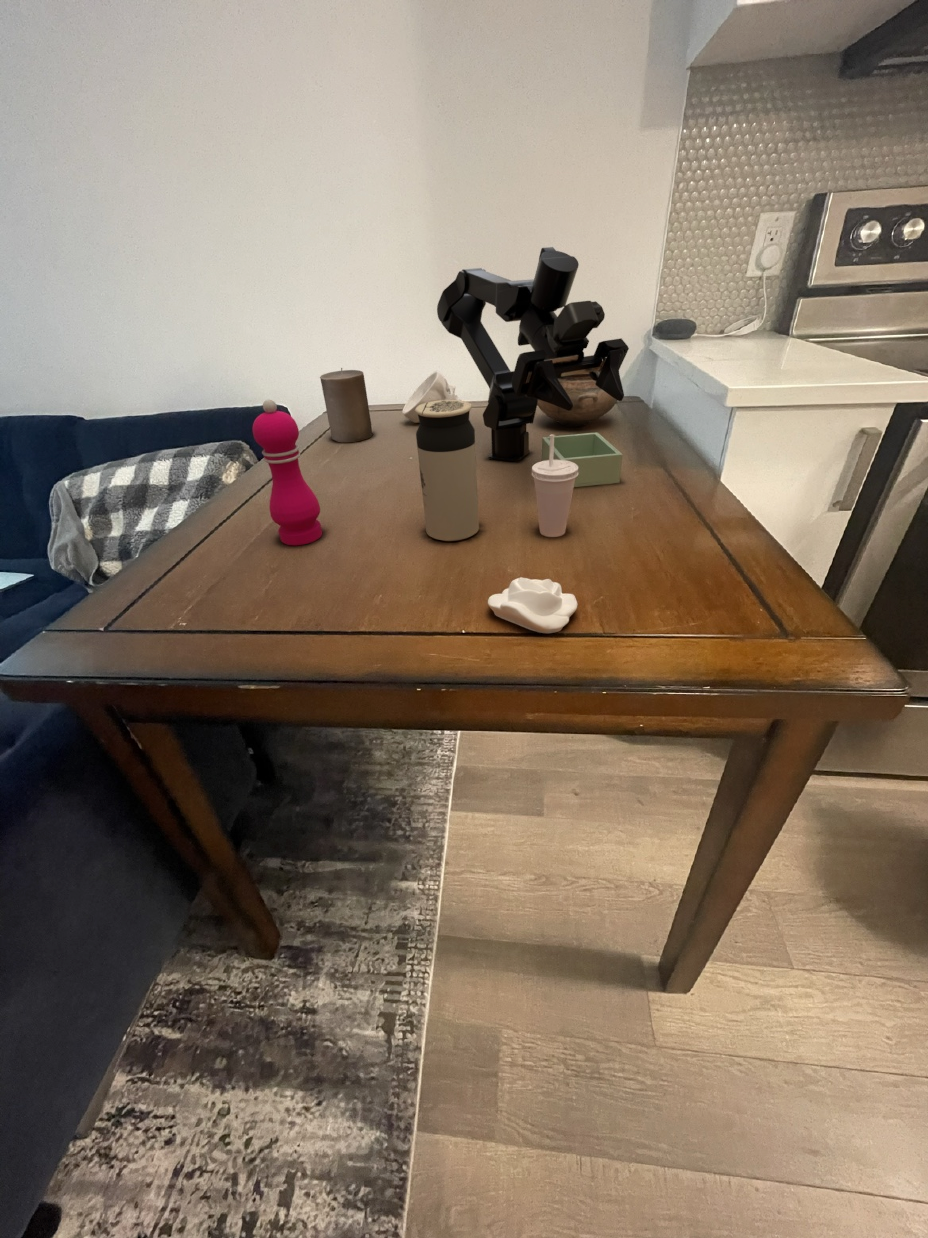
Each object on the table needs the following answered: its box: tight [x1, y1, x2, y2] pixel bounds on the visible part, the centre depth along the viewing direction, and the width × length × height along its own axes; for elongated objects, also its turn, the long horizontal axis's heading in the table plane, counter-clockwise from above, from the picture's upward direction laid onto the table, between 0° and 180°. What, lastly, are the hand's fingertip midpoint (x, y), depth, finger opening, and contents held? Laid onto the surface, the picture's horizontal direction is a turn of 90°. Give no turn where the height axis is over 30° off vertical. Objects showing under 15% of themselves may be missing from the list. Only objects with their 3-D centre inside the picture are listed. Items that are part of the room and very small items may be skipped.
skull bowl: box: [401, 370, 463, 424], centre depth 134 cm, size 10×14×12 cm
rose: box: [487, 576, 578, 634], centre depth 61 cm, size 10×4×10 cm
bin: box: [541, 431, 623, 488], centre depth 98 cm, size 14×11×5 cm
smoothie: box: [531, 433, 579, 538], centre depth 76 cm, size 6×6×14 cm
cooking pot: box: [537, 372, 618, 427], centre depth 123 cm, size 25×19×12 cm
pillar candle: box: [319, 367, 374, 443], centre depth 123 cm, size 10×10×15 cm
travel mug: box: [415, 399, 480, 542], centre depth 77 cm, size 8×8×18 cm
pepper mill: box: [252, 398, 323, 546], centre depth 78 cm, size 7×7×20 cm
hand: (597, 403), depth 81 cm, fingers open, 9 cm apart
